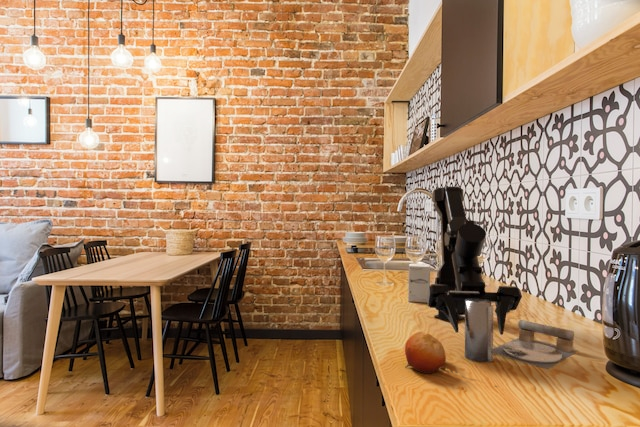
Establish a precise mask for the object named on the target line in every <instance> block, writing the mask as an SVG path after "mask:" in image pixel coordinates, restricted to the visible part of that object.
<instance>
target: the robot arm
mask: <svg viewBox="0 0 640 427" xmlns="http://www.w3.org/2000/svg"><path fill="white" fill-rule="evenodd" d="M431 195H432V196H431V198H432V200H431V201H432V203H433V204H434V210H435V212H436V213H437V214H438V216H439V217H440V239H441V240H440V241H441V243H440V244H441V265H440V267H439V268H438V270H437V273H436V277H435V280H434V283H433V284H432V283H430V286H429V290H428V296H427V301H428V303H427V306H428V308H432V309H433V308H435V310H436V311H437V312H438V314H436V315H433V316H434V318H435V319H440V320H443V321H446V322H447V321H448V322H449V323H450V325H451V327H452V329H453V330H454V332H455V333H457V334H458V333H459V321H461V320H465V299H468V298H479V299H485V300H489V301H491V303H494V304H495V309H494V313H495V315H496V319H497V321H496V322H497V328H498V331H499V335H501V336H502V335H503V334H504V330H505V325H506V319H507V314H508V313H510V312H511V311H515V310H517V308H518V307H519V305H520V302H521V300H522V298H523V295H522V292H521V289H520V288H519V287H517V286H516V285H515V286H514V285H512V286H511V285H510V286H509V285H508V286H507V285H498V288H497V291H496V292H490V291H489V292H488V291H486V283H485V282H483V281H484V279H482V278H483V276H482V272H483V269H482V266H480V262H479V257H480V256H481V254H482V250H483V248H484V243H485V241H486V236H487V232H486V230H485V228H484V227H483V226H480V225H478V224H475V220H468V218H467V215H466V211H465V207H464V203H463V202H464V189H463V188H462V187H459V186H457V185H456V186H455V185H454V186H444V187H436V189H433V191H432V193H431Z"/></svg>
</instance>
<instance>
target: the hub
mask: <svg viewBox="0 0 640 427" xmlns="http://www.w3.org/2000/svg"><path fill="white" fill-rule="evenodd" d="M464 317H465V319H464V358H465V359H466V360H469V361H471V362H475V363H489V362H492V361H494V353H493V349H494V305H492V302H491V301H489V300H485V299H479V298H468V299H465V315H464Z"/></svg>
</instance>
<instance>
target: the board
mask: <svg viewBox="0 0 640 427" xmlns="http://www.w3.org/2000/svg"><path fill="white" fill-rule="evenodd" d="M513 341H521V340H519V337H518V338H515V339H513V340H511V341H509V342H513ZM524 342H525V341H524ZM532 342H533V343H539V344H543V345H546V346H550V347H552V348H555V349H556V344H554V343H550V342H546V341H543V340H542V341H541V340H538V339H534V341H532ZM503 345H504V344H501V345H499V346H497V347H495V348H494V347H493V355H494V354H495V355H499V356H502V357H505V358H509V359H512V360H515V361H518V362H520V363H524V364H525V363H526V364H527V365H528V364H529V365H532V366H535V367H539V368H542V369H545V370H549V369H551V368H553V367H554V366H556V365H558V364H559V363H561V362H563V361H564V360H566V359H567V358H569V357H570V356H572V355H574V354H575V353H577V352H579V350H577V349H574V348H573V351H571V352H569V353H568V352H564V351H560V350H558V351H560V352H561V353H562V360H561V361H560V362H558V363H554V364H539V363H531V362H526V361H522V360H518V359H515V358H513V357H510V356H509V355H507V354H506V353H504V351H503Z"/></svg>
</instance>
